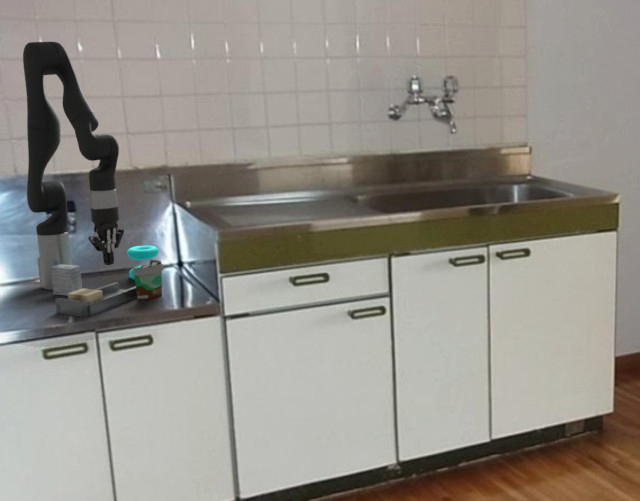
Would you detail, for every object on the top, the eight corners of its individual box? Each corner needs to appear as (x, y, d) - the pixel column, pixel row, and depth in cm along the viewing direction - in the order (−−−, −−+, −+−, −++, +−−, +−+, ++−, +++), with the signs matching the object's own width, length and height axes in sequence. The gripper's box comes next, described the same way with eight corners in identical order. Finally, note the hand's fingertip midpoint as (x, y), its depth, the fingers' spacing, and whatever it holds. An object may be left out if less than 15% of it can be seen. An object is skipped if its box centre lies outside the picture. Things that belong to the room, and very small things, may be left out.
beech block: (69, 307, 205) (67, 293, 204) (84, 301, 211) (83, 288, 210) (88, 309, 202) (86, 295, 201) (103, 304, 208) (102, 290, 207)
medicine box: (83, 293, 225) (80, 265, 223) (72, 297, 221) (69, 268, 219) (63, 291, 228) (60, 263, 226) (52, 294, 224) (49, 267, 222)
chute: (56, 313, 204) (55, 299, 203) (115, 291, 225) (114, 279, 224) (87, 317, 199) (85, 302, 198) (144, 294, 220) (143, 281, 219)
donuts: (153, 243, 247) (161, 248, 238) (155, 272, 249) (164, 278, 240) (123, 247, 242) (131, 252, 234) (125, 276, 244) (133, 282, 236)
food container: (155, 303, 211) (152, 268, 209) (135, 302, 212) (132, 268, 210) (172, 291, 223) (170, 259, 221) (153, 291, 224) (150, 259, 222)
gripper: (109, 201, 218) (114, 258, 221) (77, 208, 206) (82, 268, 210) (129, 202, 214) (134, 260, 218) (98, 209, 203) (103, 271, 207)
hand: (109, 264), depth 214 cm, fingers closed
